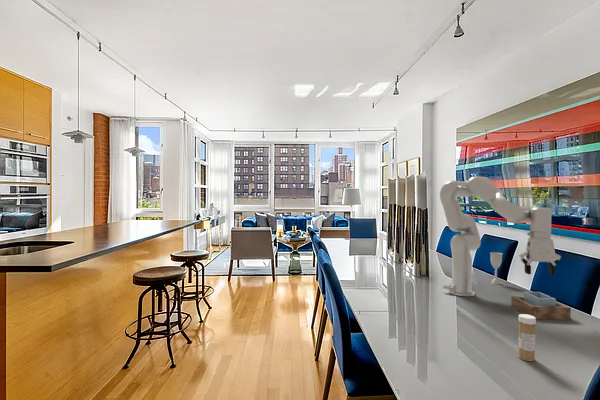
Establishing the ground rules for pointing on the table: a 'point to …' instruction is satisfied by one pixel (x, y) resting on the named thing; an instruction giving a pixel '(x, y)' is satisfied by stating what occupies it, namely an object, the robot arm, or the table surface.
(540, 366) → the table surface
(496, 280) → the chalice
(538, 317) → the walnut crate
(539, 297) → the block
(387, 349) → the table surface
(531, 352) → the pill bottle
